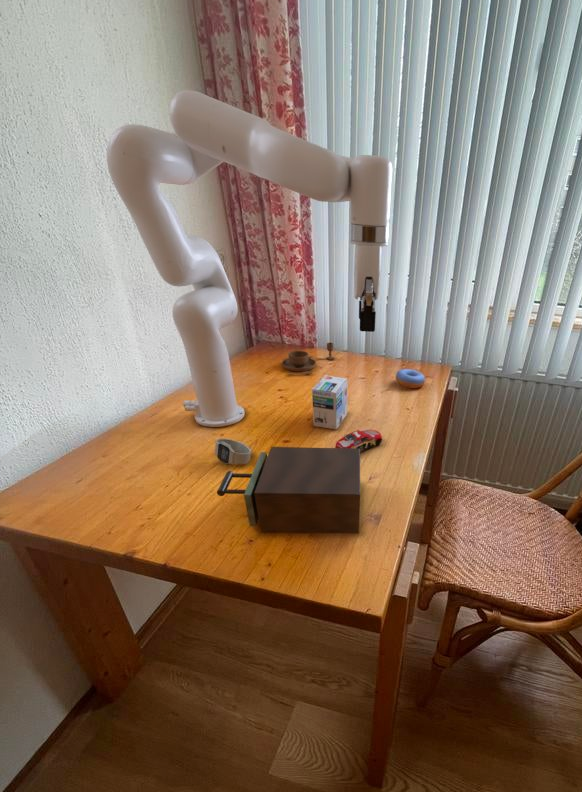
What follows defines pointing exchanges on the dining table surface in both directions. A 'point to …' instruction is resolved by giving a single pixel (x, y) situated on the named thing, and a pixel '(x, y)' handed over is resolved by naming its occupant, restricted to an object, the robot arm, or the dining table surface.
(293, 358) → the place setting
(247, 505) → the drawer
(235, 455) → the wristwatch
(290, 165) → the robot arm
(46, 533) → the dining table surface
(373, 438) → the race car
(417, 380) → the doughnut
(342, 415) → the light bulb box
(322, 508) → the cabinet
